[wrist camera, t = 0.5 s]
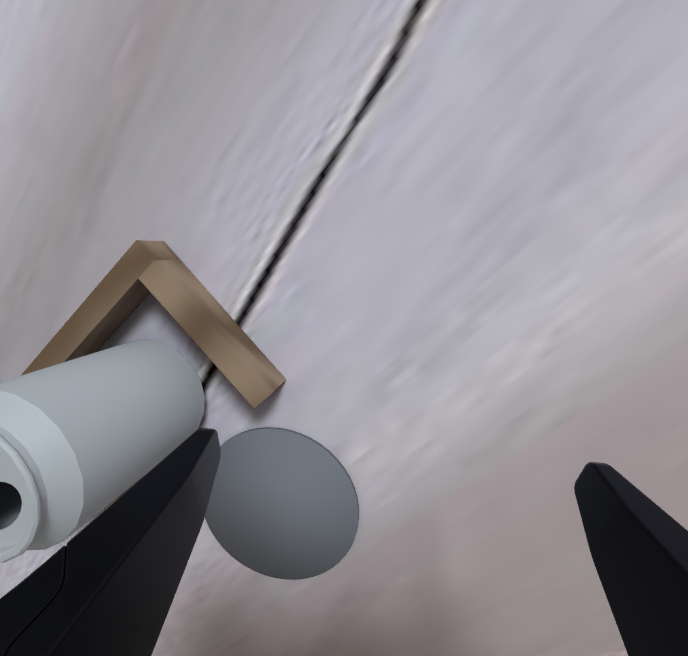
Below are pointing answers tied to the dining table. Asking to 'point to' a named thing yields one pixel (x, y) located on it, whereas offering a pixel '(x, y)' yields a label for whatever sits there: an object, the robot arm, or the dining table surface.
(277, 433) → the pad
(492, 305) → the dining table surface
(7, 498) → the can
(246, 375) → the wooden frame
